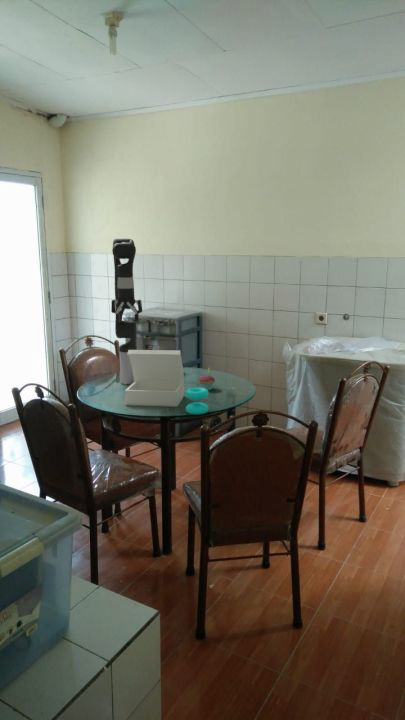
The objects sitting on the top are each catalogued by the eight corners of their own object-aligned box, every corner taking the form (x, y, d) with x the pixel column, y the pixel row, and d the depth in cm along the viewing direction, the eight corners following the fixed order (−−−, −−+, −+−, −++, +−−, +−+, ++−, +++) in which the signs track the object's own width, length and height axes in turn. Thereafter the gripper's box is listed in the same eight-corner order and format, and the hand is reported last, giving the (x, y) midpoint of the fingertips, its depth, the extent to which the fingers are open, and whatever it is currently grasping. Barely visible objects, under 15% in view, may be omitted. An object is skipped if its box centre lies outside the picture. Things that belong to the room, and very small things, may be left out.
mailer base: (135, 395, 250) (134, 381, 248) (184, 396, 246) (183, 382, 245) (125, 405, 233) (124, 390, 232) (177, 406, 230) (177, 391, 228)
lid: (133, 384, 246) (137, 373, 253) (183, 385, 243) (185, 374, 249) (127, 353, 235) (131, 343, 241) (179, 354, 232) (182, 343, 238)
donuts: (186, 393, 215) (184, 387, 224) (186, 416, 217) (184, 409, 226) (210, 392, 216) (207, 386, 226) (210, 414, 218) (207, 408, 228)
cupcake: (218, 388, 259) (218, 365, 257) (207, 392, 253) (206, 368, 251) (206, 386, 265) (205, 363, 263) (194, 389, 259) (194, 366, 256)
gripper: (142, 286, 240) (144, 321, 244) (113, 286, 242) (115, 320, 246) (138, 287, 233) (140, 323, 236) (108, 287, 235) (110, 323, 238)
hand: (127, 321), depth 241 cm, fingers open, 8 cm apart
